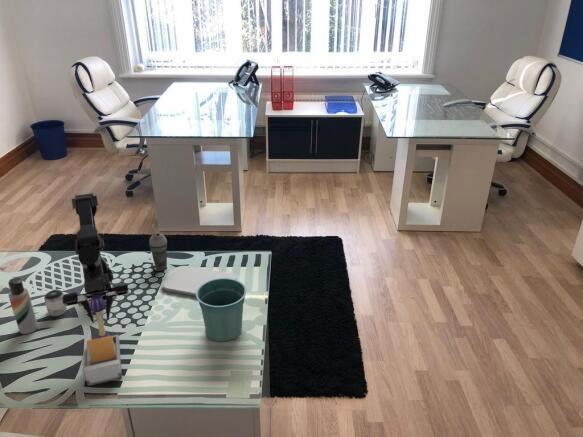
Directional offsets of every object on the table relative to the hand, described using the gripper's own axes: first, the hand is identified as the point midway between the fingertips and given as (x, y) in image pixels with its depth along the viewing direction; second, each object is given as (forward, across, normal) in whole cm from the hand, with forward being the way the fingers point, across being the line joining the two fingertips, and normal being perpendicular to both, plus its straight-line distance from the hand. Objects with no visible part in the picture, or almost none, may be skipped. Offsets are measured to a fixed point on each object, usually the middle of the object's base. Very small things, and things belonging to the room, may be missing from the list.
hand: (100, 321), depth 146 cm
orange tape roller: (+11, -1, +7) cm, 14 cm away
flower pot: (+11, +38, +8) cm, 40 cm away
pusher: (+11, -1, +7) cm, 14 cm away
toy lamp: (+5, 0, +7) cm, 9 cm away
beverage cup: (-22, +23, +42) cm, 53 cm away
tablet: (-10, +36, +30) cm, 48 cm away
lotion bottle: (-6, -24, +26) cm, 36 cm away
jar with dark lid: (-11, -15, +30) cm, 36 cm away
